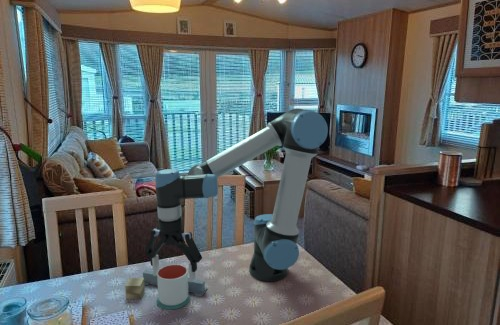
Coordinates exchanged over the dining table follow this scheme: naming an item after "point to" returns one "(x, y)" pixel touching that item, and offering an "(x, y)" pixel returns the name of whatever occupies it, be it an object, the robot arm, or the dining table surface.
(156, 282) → the rail
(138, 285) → the oak block
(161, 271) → the cup
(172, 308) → the coaster
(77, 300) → the dining table surface
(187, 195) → the robot arm
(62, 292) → the dining table surface
